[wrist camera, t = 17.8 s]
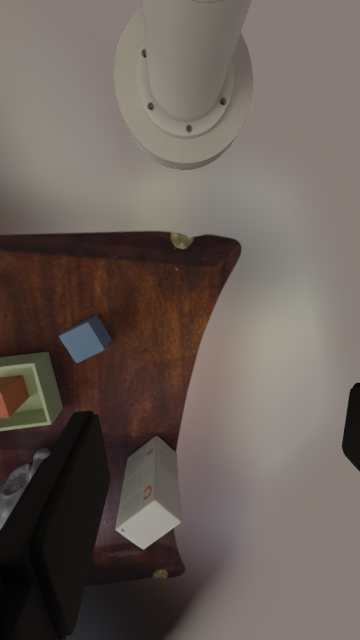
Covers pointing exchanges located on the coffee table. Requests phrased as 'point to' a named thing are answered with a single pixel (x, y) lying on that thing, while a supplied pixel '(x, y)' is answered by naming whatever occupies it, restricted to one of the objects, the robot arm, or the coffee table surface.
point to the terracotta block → (12, 395)
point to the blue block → (86, 339)
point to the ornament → (18, 484)
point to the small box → (149, 494)
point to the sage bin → (32, 390)
